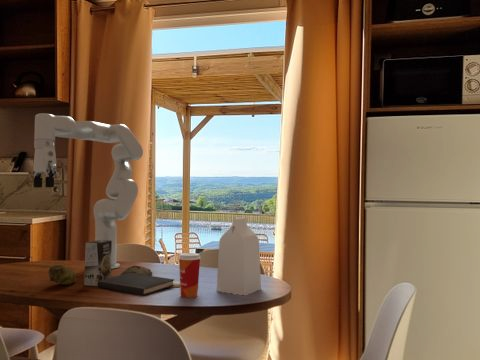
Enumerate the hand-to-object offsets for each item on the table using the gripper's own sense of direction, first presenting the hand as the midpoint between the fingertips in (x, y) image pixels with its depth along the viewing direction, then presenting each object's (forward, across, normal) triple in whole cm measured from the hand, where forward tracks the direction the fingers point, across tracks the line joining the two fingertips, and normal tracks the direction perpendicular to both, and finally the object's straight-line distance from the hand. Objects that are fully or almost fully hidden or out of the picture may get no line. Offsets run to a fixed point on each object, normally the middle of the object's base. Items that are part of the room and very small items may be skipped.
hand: (43, 187), depth 169 cm
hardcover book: (+36, -39, -16) cm, 56 cm away
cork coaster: (+37, -48, -28) cm, 66 cm away
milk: (+37, -71, -38) cm, 88 cm away
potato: (+37, -16, -1) cm, 40 cm away
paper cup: (+37, -63, -20) cm, 76 cm away
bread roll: (+37, -24, -28) cm, 52 cm away
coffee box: (+37, -23, -11) cm, 45 cm away
